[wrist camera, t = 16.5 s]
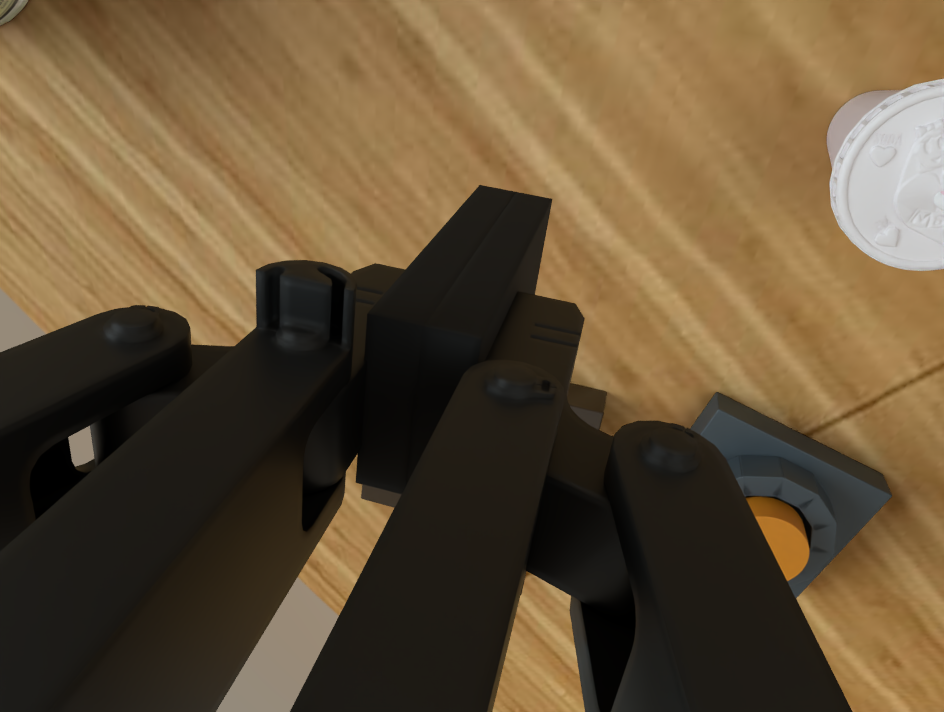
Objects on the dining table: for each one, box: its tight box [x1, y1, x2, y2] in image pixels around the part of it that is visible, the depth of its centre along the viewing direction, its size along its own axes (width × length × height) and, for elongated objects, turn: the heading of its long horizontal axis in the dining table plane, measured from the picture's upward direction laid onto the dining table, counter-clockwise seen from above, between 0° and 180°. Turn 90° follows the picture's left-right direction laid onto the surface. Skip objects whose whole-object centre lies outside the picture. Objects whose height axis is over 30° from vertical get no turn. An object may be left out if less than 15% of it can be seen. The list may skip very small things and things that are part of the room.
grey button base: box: [690, 392, 892, 598], centre depth 41 cm, size 10×9×4 cm
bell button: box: [746, 496, 810, 581], centre depth 39 cm, size 4×4×2 cm
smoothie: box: [827, 79, 944, 271], centre depth 27 cm, size 6×6×14 cm
